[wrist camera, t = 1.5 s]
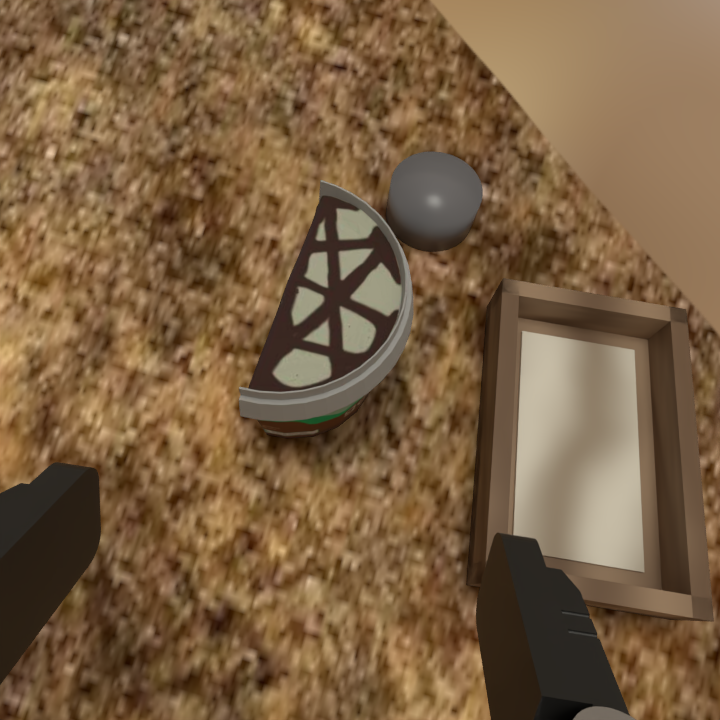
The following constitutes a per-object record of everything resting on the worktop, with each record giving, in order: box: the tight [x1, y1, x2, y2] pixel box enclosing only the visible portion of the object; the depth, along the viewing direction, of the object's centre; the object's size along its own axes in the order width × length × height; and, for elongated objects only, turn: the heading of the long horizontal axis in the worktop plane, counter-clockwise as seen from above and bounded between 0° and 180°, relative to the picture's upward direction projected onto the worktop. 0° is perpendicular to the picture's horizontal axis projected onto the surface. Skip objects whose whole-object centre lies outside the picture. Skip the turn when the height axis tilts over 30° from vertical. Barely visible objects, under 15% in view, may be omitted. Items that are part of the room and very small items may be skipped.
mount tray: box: [467, 278, 714, 621], centre depth 32 cm, size 11×17×4 cm, turn 171°
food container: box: [239, 180, 413, 438], centre depth 30 cm, size 12×6×10 cm, turn 164°
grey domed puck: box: [386, 152, 482, 252], centre depth 38 cm, size 6×6×3 cm
